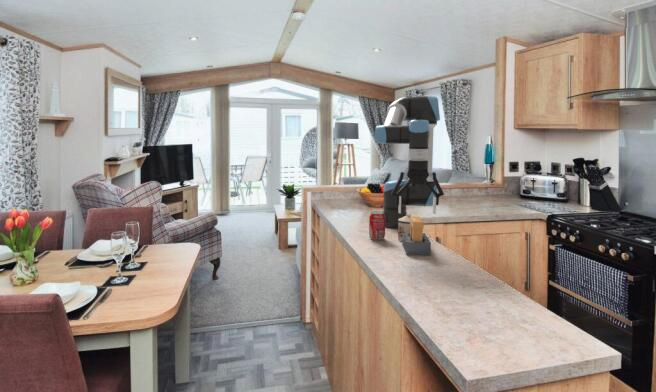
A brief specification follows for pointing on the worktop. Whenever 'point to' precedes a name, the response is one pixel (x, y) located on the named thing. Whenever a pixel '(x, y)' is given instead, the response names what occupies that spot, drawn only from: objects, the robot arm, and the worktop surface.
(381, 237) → the soda can
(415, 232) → the peach eraser-shaped slab
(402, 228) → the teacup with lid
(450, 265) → the worktop surface
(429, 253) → the gray slotted block
